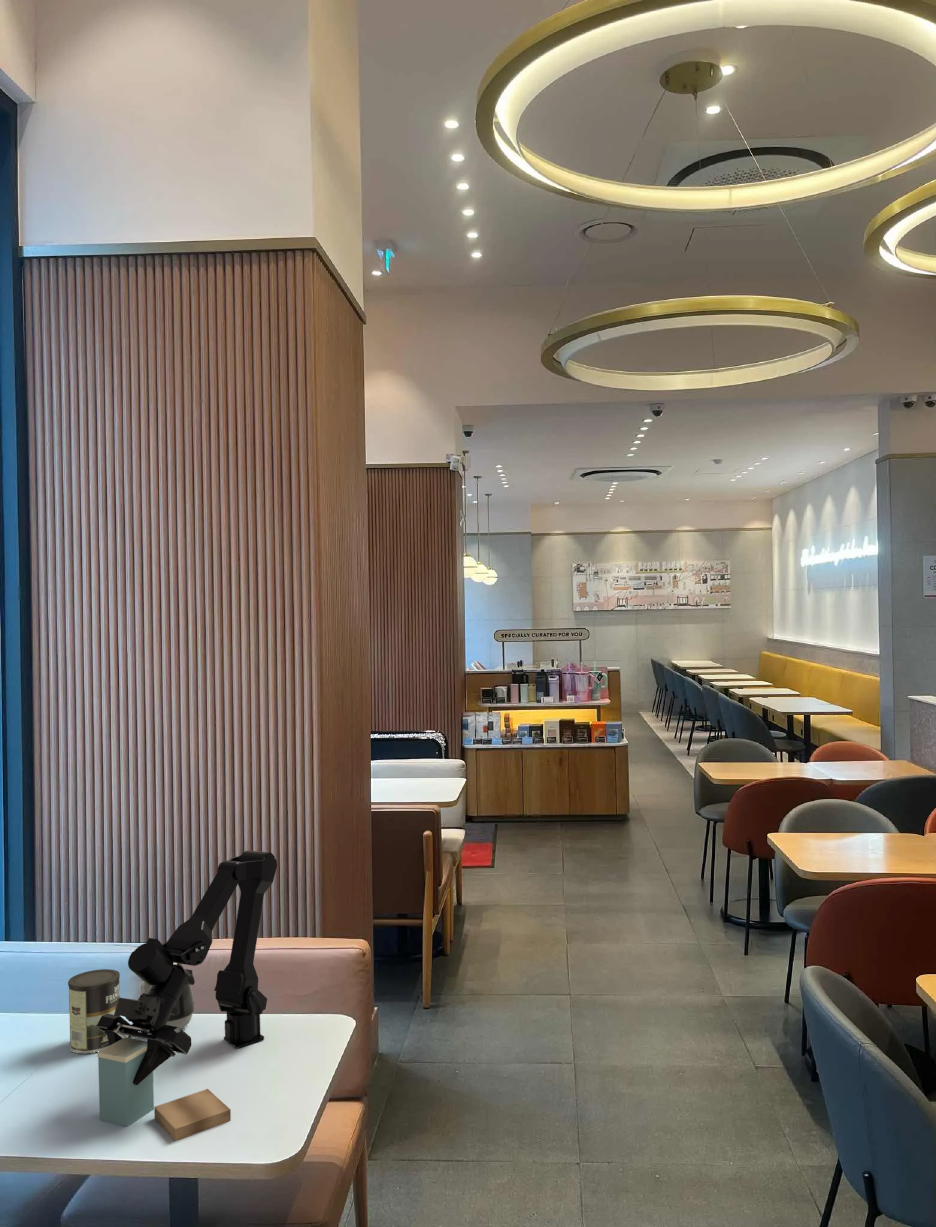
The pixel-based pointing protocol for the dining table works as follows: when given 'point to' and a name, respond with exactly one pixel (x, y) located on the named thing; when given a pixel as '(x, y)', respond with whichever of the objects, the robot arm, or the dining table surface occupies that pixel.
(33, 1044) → the dining table surface
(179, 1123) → the block
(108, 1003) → the coffee can
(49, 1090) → the dining table surface
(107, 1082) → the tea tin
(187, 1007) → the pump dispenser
